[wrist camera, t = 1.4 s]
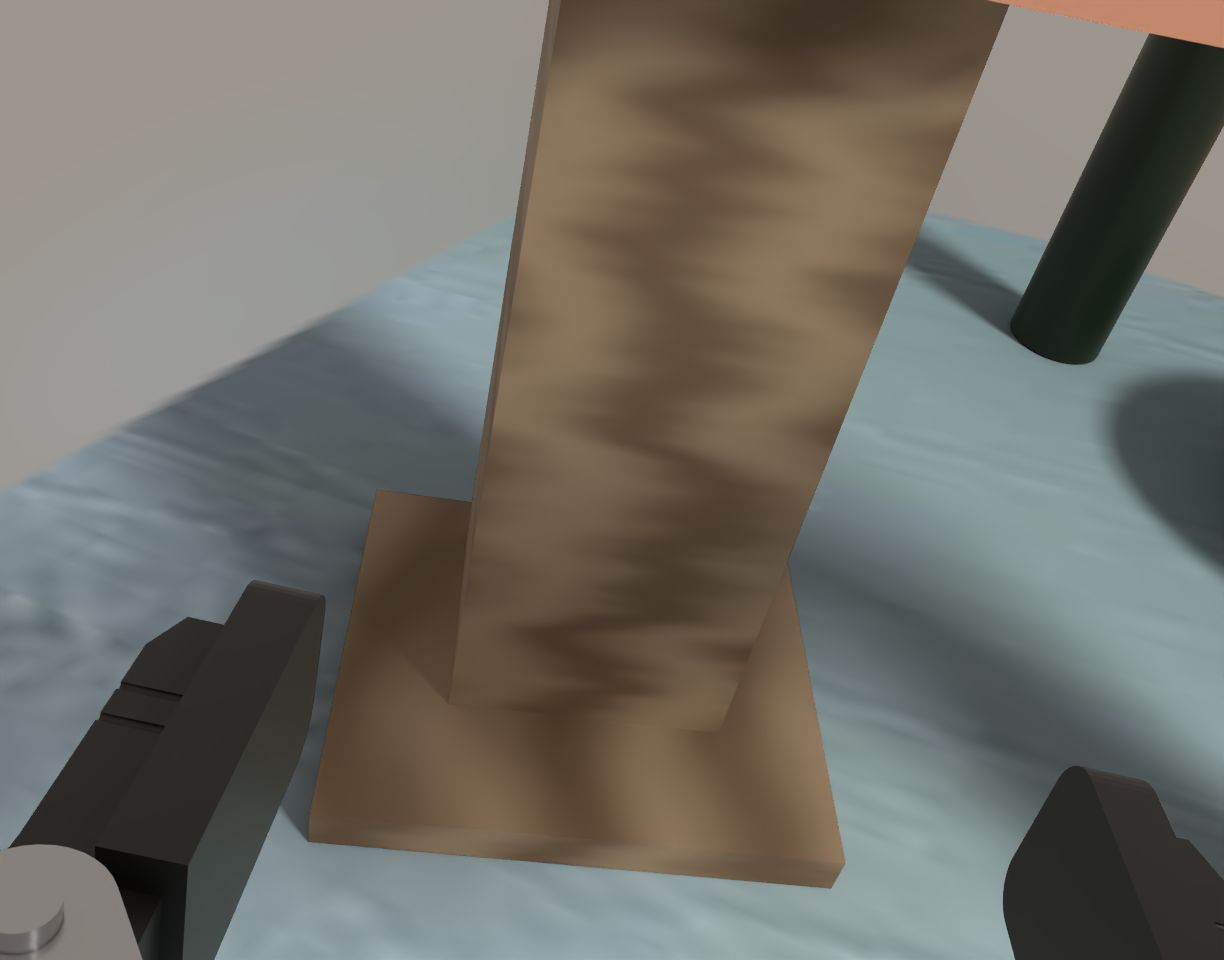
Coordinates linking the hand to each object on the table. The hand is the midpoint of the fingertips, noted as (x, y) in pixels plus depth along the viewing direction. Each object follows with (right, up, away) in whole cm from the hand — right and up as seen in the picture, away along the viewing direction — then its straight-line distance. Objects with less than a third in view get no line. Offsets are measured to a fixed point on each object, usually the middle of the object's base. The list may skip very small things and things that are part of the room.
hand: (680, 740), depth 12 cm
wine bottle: (+28, +12, +63) cm, 70 cm away
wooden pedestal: (-2, -5, +33) cm, 34 cm away
